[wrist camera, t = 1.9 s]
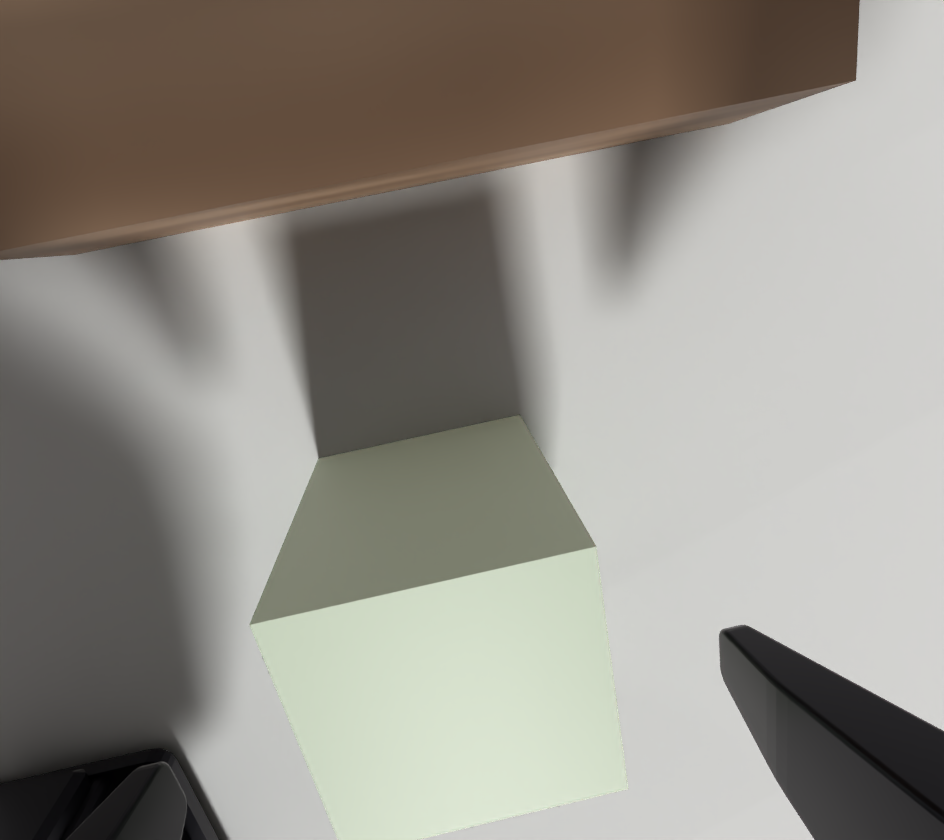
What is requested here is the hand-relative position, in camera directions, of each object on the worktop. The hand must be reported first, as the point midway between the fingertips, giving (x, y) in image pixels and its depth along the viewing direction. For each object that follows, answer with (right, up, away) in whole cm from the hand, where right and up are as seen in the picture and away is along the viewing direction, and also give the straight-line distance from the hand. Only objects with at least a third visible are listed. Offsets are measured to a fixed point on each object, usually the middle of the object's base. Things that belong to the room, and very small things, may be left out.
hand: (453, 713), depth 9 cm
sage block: (0, +2, +6) cm, 6 cm away
